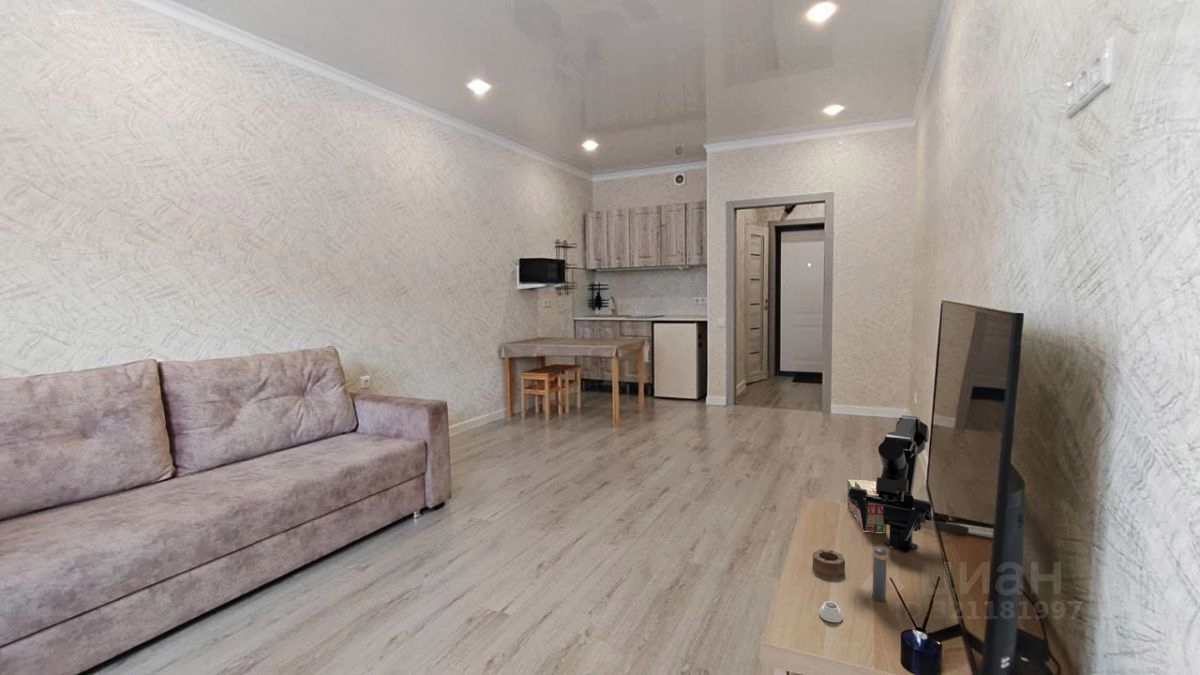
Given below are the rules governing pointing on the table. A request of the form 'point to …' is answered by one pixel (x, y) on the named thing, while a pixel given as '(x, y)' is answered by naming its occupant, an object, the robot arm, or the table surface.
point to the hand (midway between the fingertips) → (884, 535)
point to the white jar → (831, 612)
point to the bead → (828, 562)
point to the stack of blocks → (874, 510)
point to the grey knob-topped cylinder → (879, 573)
